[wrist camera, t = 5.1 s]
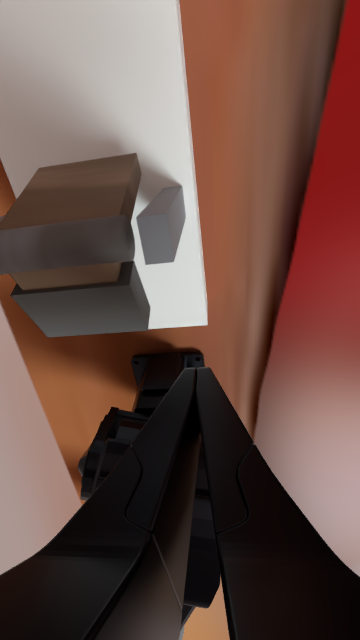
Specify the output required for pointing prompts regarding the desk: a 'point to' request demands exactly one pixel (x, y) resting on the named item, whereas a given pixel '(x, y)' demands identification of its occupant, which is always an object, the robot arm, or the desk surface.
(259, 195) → the desk surface
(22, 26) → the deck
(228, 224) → the desk surface
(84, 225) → the lever
